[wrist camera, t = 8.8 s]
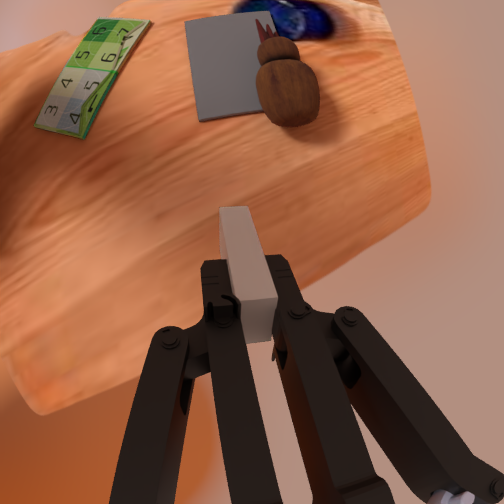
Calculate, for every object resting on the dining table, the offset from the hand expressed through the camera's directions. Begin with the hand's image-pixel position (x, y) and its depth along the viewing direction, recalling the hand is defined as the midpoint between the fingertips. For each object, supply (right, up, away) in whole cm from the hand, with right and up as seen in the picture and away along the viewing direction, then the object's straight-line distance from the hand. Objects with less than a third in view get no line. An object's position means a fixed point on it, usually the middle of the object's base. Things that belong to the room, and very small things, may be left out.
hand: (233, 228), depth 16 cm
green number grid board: (-22, +24, +16) cm, 36 cm away
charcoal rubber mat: (-1, +23, +16) cm, 29 cm away
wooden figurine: (+6, +12, +14) cm, 19 cm away
